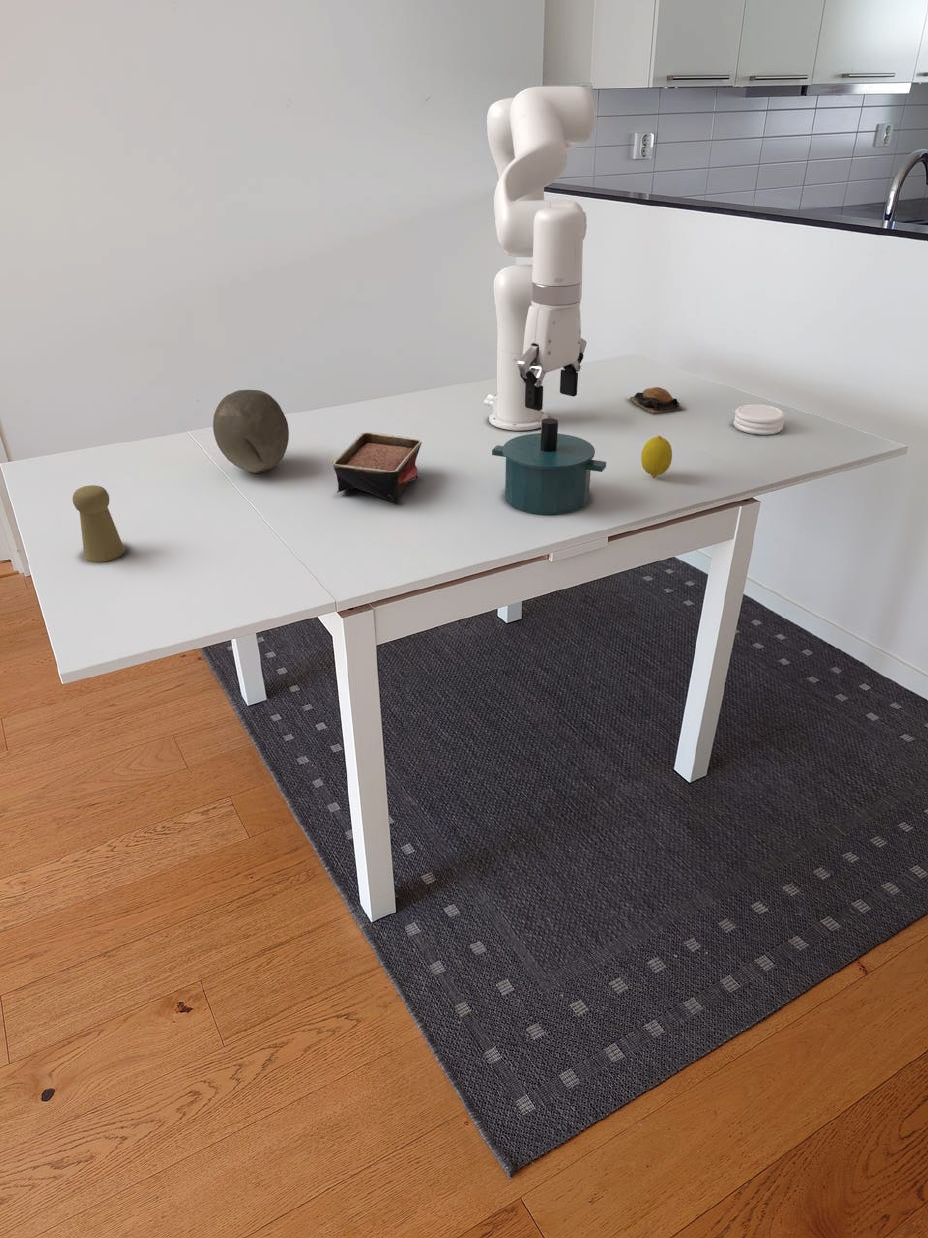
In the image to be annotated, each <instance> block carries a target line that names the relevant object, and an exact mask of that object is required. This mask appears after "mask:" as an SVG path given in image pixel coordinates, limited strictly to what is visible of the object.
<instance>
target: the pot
mask: <svg viewBox="0 0 928 1238" xmlns="http://www.w3.org/2000/svg"><path fill="white" fill-rule="evenodd" d="M503 446H504V445H499V444H498V445H496V446H495V447H493V448H492V449H491V450H492V451H491V455H492V456H496V457H501V458H502V457H503V458H505V476H504V477H505V478H504V479H505V480H504V481H505V482H504V483H505V484H504V493H505V494H504V495H505V496H504V498H505V500H506V502H507V503H508V504H509V505H510V506H511V507H513V508H515V509H517V510H518V511H521V512H524V513H529V514H534V515H543V516H544V515H545V516H555V515H562V514H564V515H565V514H568V513H572V512H575V511H578V510H580V509H582V508H583V507H585V506H586V504H587V503H588V501H589V498H590V486H591V485H590V484H591V471H592V472H601V473H603V471H604V470H605V469H606V468H607V461H603V460H597V459H591V460H590V461H589V462H587V463H585V464H583V465H580V466H577V467H572V468H566V469H537V468H530V467H525V466H522V465H518V464H516V463H513V462H511V461H510V460H508V459H507V458H506V457H505V456H504V454H503Z"/></svg>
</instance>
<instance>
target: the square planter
mask: <svg viewBox="0 0 928 1238" xmlns="http://www.w3.org/2000/svg"><path fill="white" fill-rule="evenodd" d="M422 444H423V442H422V440H420V439H417V438H413V437H407V436H401V435H394V434H385V433H378V432H362V433H361V434H359V435H358V436H357V437H356V439H355V440H354V441H353V442H351V444H350V445H348V447H347V448H346V449H345V450H344V451H343V452H342V453H341V454H340V455H339V456H338V457H336V459H335V460H334V461H333V462H332V465H333V470H334V472H335V474H336V480H337V486H338V487H337V492H336V494H338V493H341V492H344V491H348V490H352V489H359V490H361V491H363V492H367V493H369V494H372V495H374V496H377V497H380V498H382V499H385V500H387V501H389V502H392V503H394V504H397V505H398V503H399V499H400V497H401V494H402V493H403V491H404V490H405V488H406V487H407V485H408V483H409V482H411V481H414V480H415V479H419V476H418V467H417V465H416V463H417V462H416V461H417V458H418V455H419V452H420V449H421V446H422Z"/></svg>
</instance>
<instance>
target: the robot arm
mask: <svg viewBox="0 0 928 1238" xmlns="http://www.w3.org/2000/svg"><path fill="white" fill-rule="evenodd" d="M595 104H596V103H595V101H594V97H593V96H592V94H591V93H590V91H589V90H588V89H587V88H585V87H583V86H580V85H579V86H577V85H568V86H567V85H565V86H564V85H563V86H562V85H557V86H553V85H551V86H549V85H548V86H547V85H546V86H544V85H543V86H532V87H528V88H525V89H523V90H521V91H520V92H518V93H517V94H516V95H515V96H513V97H507V98H503V99H498V100H497V101H495V102H493V103H491V105H490V107H489V108H488V111H487V116H486V131H487V140H488V146H489V149H490V153H491V156H492V159H493V162H494V165H495V168H496V171H497V176H498V180H497V182H496V186H495V190H494V194H493V195H494V196H493V213H494V221H495V223H494V224H495V233H496V237H497V241H498V244H499V245H500V247H501V249H502V251H503V252H504V253H505V255H507V256H509V257H513V258H532V264H513V265H510V266H509V265H508V266H505V267H503V268H502V269H500V270H499V271H498V272H497V273H496V275H495V277H494V279H493V297H494V306H495V313H496V328H497V329H496V330H497V334H496V335H497V340H496V341H497V343H496V344H497V345H496V346H497V347H496V350H497V351H496V360H497V361H496V394H493V393H488V394H487V396H486V398H485V399H484V400H483V405H485V406H487V407H491V409H492V412H491V413H490V414H489V415H488V416H489V417H488V419H489V423H490V424H491V425H492V426H494V427H496V428H498V429H503V430H508V431H516V432H517V431H531V430H532V431H533V430H536V429H541V423H542V420H543V419H546V418H549V415H548V414H547V412H545V411H544V410H543V407H544V385H543V381H544V378H545V376H546V374H547V373H550V372H553V371H556V370H558V369H560V376H559V377H560V379H559V393H560V394H561V395H563V396H564V395H566V396H569V397H576V396H577V395H578V383H579V372H580V371H581V367H582V366H581V363H582V361H583V359H584V353H585V350H586V347H587V340H586V339H584V338H582V337H581V335H582V334H581V333H582V332H581V331H582V329H581V328H582V327H581V324H582V323H581V321H582V320H581V306H580V305H581V302H582V301H581V300H582V294H583V246H584V239H585V238H586V235H587V215H586V214H587V213H586V212H585V211H584V210H583V208H582V206H581V204H580V203H579V202H577V201H574V200H565V199H564V200H549V199H548V200H547V199H545V188H546V187H548V186H550V185H551V184H553V183H554V182H556V181H557V180H558V179H559V178H560V177H561V176H562V175H563V173H564V172H565V170H566V168H567V165H568V164H567V163H568V154H567V151H568V150H575V149H577V148H580V147H581V146H583V145H585V144H587V143H588V142H589V141H590V139H591V138H592V136H593V134H594V131H595V127H596V122H597V121H596V120H597V111H596V105H595Z"/></svg>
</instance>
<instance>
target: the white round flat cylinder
mask: <svg viewBox="0 0 928 1238" xmlns="http://www.w3.org/2000/svg"><path fill="white" fill-rule="evenodd" d="M734 414H735V415H734V418H733V419H734V420H733V426H734V427H735V428H736V429H737V430H739V432H740V431H741V432H743V433H747V434H751V435H759V436H768V435H769V436H770V435H775V434H778V433H780V432H781V431H782V430H783V428H784V423H785V418H786V413H785V412H784V411H783V410H781V409H780V408H778V407H775V406H772V405H768V404H767V405H766V404H759V403H753V404H751V403H750V404H743V405H740V406H738V407H737V408H736V409H735V411H734Z"/></svg>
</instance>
